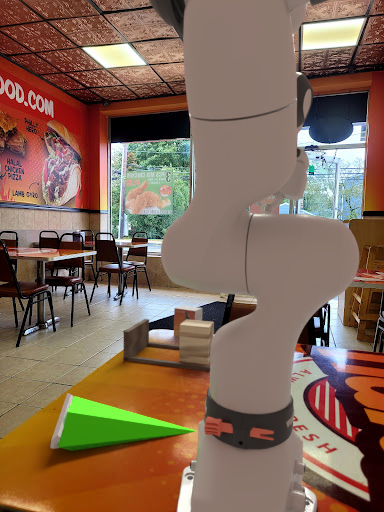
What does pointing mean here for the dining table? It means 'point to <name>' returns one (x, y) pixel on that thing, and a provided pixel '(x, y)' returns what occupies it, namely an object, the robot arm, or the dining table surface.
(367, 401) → the dining table surface
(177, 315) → the small box
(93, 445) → the paper cone
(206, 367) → the bay
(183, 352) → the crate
